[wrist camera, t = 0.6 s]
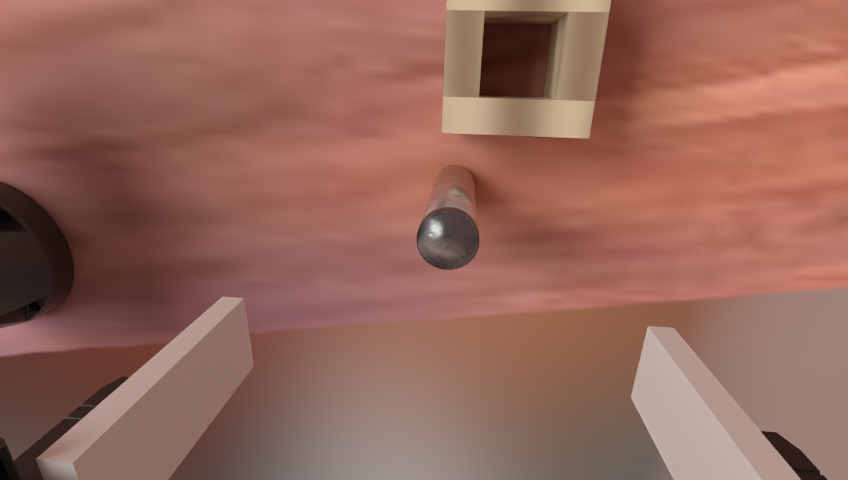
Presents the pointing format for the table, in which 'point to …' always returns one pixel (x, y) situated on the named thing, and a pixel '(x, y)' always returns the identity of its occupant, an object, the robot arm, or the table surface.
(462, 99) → the hollow square frame
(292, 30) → the table surface
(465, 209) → the glass vial with cap
